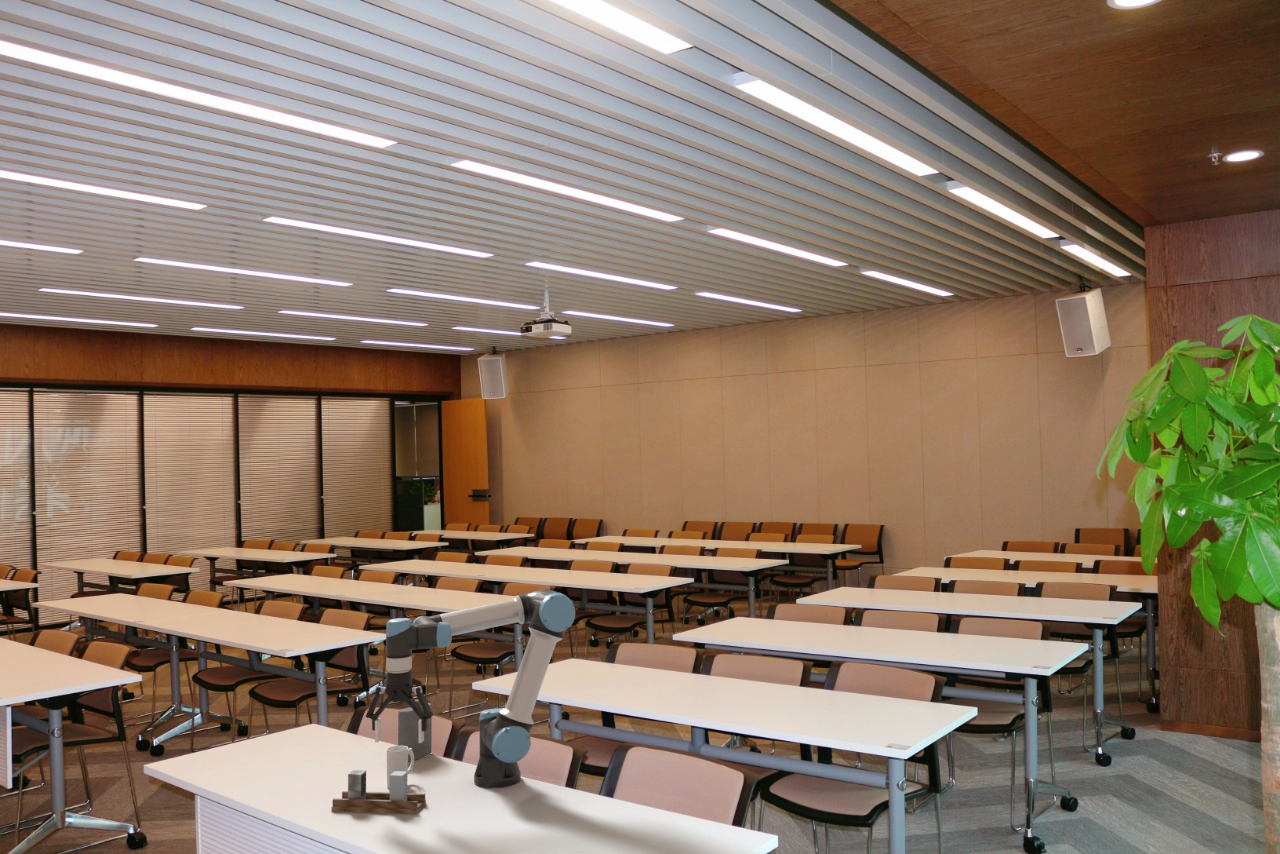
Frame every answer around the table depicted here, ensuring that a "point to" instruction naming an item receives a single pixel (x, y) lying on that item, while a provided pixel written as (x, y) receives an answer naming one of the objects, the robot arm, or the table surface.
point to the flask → (414, 732)
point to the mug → (398, 760)
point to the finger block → (398, 786)
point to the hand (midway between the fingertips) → (399, 741)
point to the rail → (374, 799)
